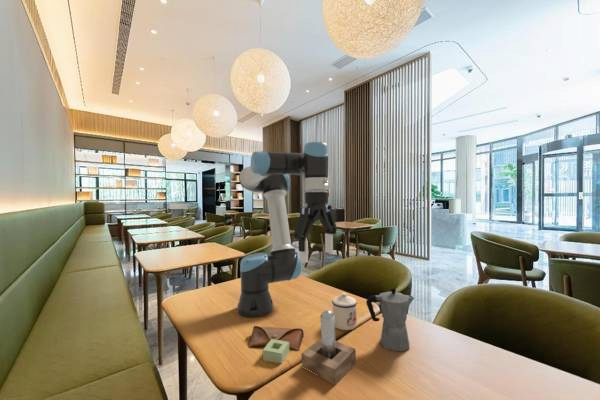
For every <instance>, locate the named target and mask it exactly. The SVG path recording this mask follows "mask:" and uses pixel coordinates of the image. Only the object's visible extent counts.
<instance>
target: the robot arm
mask: <svg viewBox="0 0 600 400" xmlns="http://www.w3.org/2000/svg"><path fill="white" fill-rule="evenodd" d="M303 147H304V149H303V152H300V153H299V152H282V151H265V150H261V151H253V152H252V154H251V157H250V165H249V166H247V167H245V168H243V169H242V170H241V171H240V172H239V175H238V182H239V184H240V186H241V187H242V188H244V189H245V190H248V191H249V192H254V193H262V195H263V197H264V198H265V199H266V200H267V208H268V209H267V210H268V217H269V218H268V219H269V228H270V234H271V235H270V237H271V244H272V248H271V250H270V251H269V255H268V253H266V252H255V253H252V254H248V255H246V256H244V257H243V258H242V259H241V260H240V266H239V267H240V268H239V271H240V296H239V300H238V302H237V308H236V309H237V311H238V312H237V314H238V313H239V314H238V315H239V316H241V317H244V318H256V317H264V316H265V315H267V314H270V313H271V312H272V311H273V310H274V301H273V299H272V296H271V294H270V291H269V284H273V283H280V282H286V281H292V280H296V279H297V278H299V277H300V275H301V273H302V268H303V265H302V264H303V263H309V244H308V243H309V241H308V240H307V238H308V236H309V233H310V231H311V229H312V227H313V225H314V224H315V223H316V222H318V221H320V224H321V225H322V227H323V228H324V230H325V232H326V233H324V252H325V253H327V254H333V253H334V235H336V234H337V231H338V226H337V225H336V221H335V218H334V215H333V214H334V213H333V210H332V205H330V204H329V192H328V190H329V153H328V150H329V149H328V144H327V142H323V141H309V142H306V143H305V144H304V146H303ZM289 175H290V176H291V175H292V176H293V175H294V176H295V175H296V176H304V190H305V191H306V192H305V193H304V203H305V204H306V207H300V208H299V216H298V219H297V223H296V226H295V230H294V234H293V237H292V238H293V240H296V241H298V251H299V252H297V251H296V248H295V247H294V246H293V245H292V240H291V234H290V226H289V219H288V213H287V211H288V210H287V205H286V195H287V194H288V192H289V190H290V187H291V181H290V176H289ZM328 204H329V205H328Z"/></svg>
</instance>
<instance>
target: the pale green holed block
mask: <svg viewBox="0 0 600 400" xmlns="http://www.w3.org/2000/svg"><path fill="white" fill-rule="evenodd" d="M289 353H290V350H289V342H286V341H280V340H275V339H271V340H270V342H269V343H268V344H267V345H266V347H265V348H262V359H263V361H266V362H272V363H276V364H283V363H284V361H285V359H286V358H287V356H288V354H289Z"/></svg>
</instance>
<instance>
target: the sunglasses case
mask: <svg viewBox="0 0 600 400" xmlns="http://www.w3.org/2000/svg"><path fill="white" fill-rule="evenodd" d="M303 338H304V330H303V329H302V328H298V327H297V328H296V327H295V328H289V327H288V328H287V327H276V326H275V327H272V326H269V327H268V326H258V325H255V326H253V328H252V332H251V336H250V339H249V343H248V346H247V348H249V349H251V348H261V349H264V348H265V347H266V345H267V344H268V343H269V342H270V340H271V339H275V340H280V341H286V342H289V351H295V352H296V351H297V352H298V351H300V350H301V346H302V343H303Z"/></svg>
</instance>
